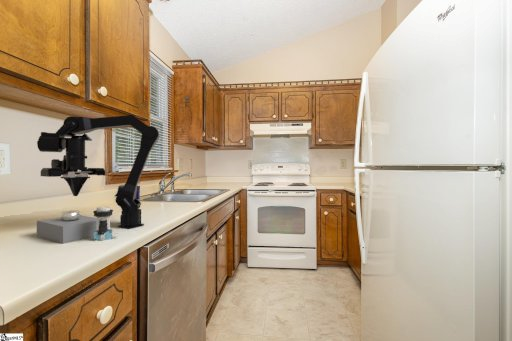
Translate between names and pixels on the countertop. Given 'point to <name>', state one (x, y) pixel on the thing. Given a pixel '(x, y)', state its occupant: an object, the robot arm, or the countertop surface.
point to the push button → (103, 224)
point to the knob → (70, 215)
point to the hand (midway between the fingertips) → (75, 196)
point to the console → (67, 229)
